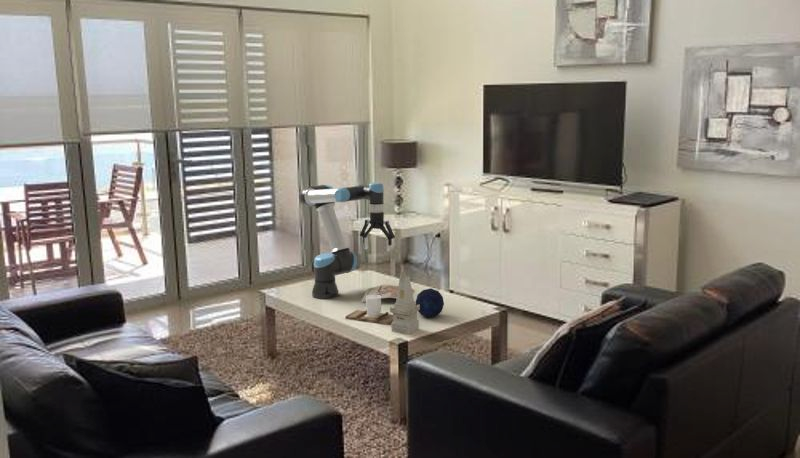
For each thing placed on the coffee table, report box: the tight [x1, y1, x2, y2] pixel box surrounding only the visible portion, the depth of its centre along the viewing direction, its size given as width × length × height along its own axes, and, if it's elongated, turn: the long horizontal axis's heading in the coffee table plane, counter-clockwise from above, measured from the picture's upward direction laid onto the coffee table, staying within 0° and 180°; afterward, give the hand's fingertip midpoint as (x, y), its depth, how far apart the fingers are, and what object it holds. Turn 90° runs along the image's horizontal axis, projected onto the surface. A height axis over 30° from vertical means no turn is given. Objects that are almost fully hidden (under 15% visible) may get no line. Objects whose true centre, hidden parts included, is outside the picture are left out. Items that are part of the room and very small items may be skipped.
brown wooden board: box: [345, 309, 393, 326], centre depth 354 cm, size 25×12×2 cm, turn 64°
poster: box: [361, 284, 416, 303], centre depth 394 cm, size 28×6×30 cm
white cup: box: [365, 295, 382, 318], centre depth 353 cm, size 8×8×10 cm
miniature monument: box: [389, 269, 420, 335], centre depth 333 cm, size 10×10×30 cm
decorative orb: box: [415, 287, 445, 319], centre depth 355 cm, size 14×15×15 cm
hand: (377, 250), depth 380 cm, fingers open, 13 cm apart
